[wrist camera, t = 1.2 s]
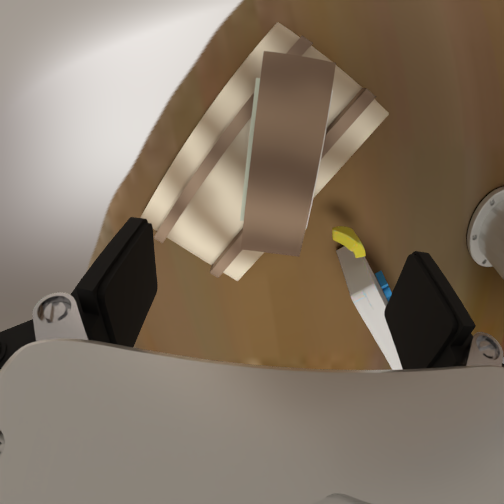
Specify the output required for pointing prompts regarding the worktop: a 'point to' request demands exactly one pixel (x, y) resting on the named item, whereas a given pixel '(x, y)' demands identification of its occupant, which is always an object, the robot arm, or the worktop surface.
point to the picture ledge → (235, 155)
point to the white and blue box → (366, 290)
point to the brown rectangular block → (284, 151)
